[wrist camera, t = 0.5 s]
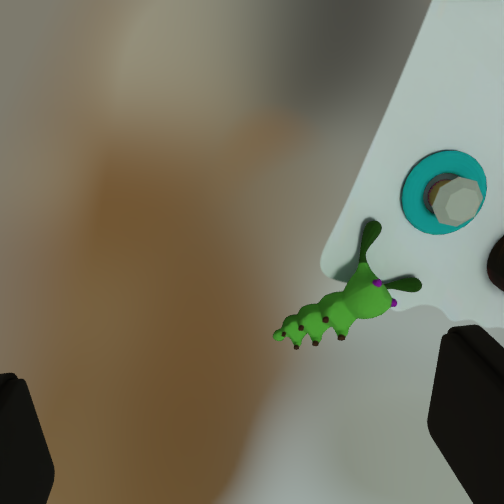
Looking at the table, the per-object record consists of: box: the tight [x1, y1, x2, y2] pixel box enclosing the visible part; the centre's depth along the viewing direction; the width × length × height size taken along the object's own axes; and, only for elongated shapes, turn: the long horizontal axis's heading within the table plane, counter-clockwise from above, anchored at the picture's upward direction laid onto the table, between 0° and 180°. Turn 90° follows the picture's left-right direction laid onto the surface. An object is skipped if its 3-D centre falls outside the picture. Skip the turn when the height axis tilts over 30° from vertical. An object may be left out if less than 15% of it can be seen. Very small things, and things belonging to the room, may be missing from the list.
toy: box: [273, 221, 422, 350], centre depth 53 cm, size 12×18×10 cm
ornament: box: [402, 151, 487, 235], centre depth 48 cm, size 11×4×10 cm
